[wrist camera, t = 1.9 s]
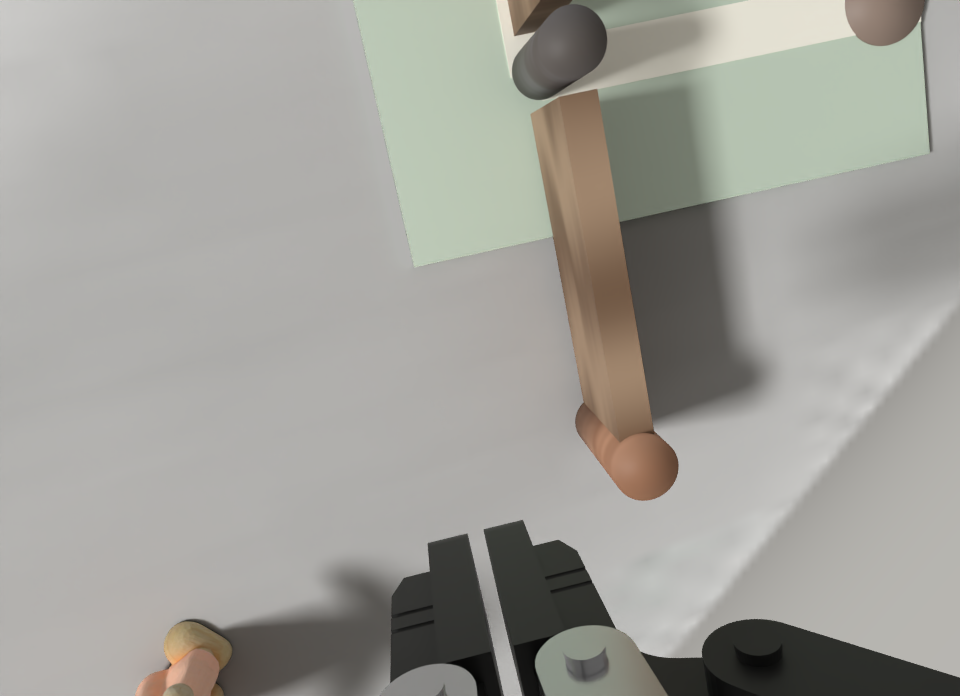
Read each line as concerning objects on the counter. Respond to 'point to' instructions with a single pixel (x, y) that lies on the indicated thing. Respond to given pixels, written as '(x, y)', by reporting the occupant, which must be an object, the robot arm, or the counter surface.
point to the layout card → (639, 106)
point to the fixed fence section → (531, 13)
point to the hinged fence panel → (592, 252)
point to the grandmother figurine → (189, 663)
